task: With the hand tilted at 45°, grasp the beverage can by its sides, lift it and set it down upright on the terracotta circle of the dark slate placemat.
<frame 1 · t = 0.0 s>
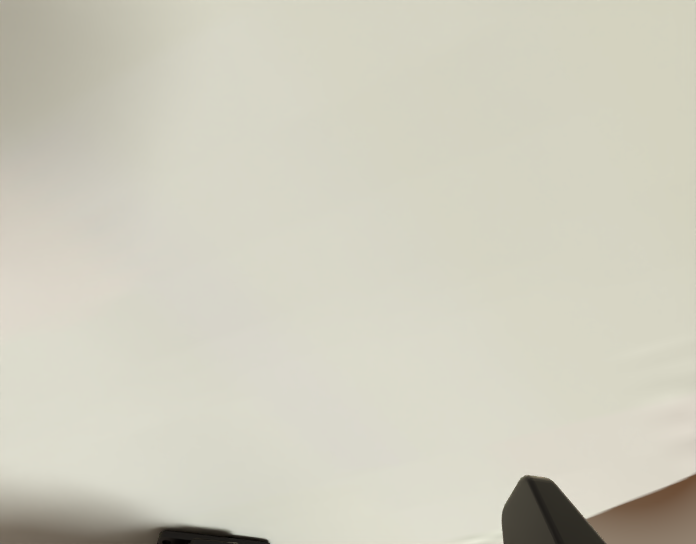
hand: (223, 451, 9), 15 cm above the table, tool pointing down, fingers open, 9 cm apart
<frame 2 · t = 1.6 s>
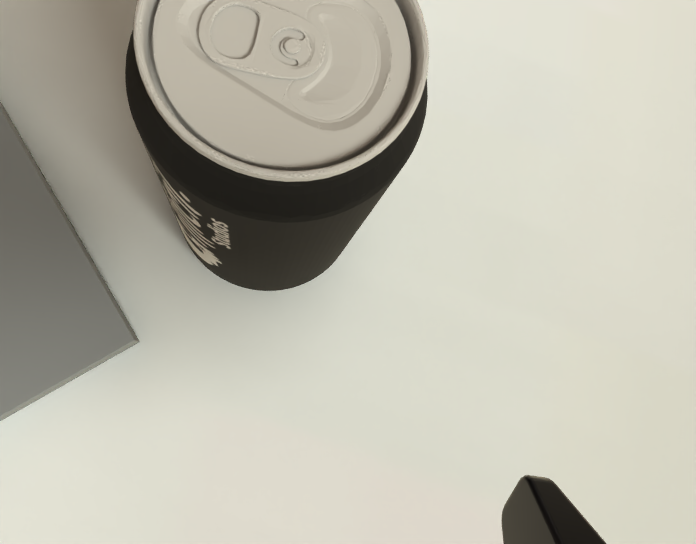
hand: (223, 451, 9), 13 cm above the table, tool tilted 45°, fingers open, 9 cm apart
beverage can: (267, 212, 23), on the table
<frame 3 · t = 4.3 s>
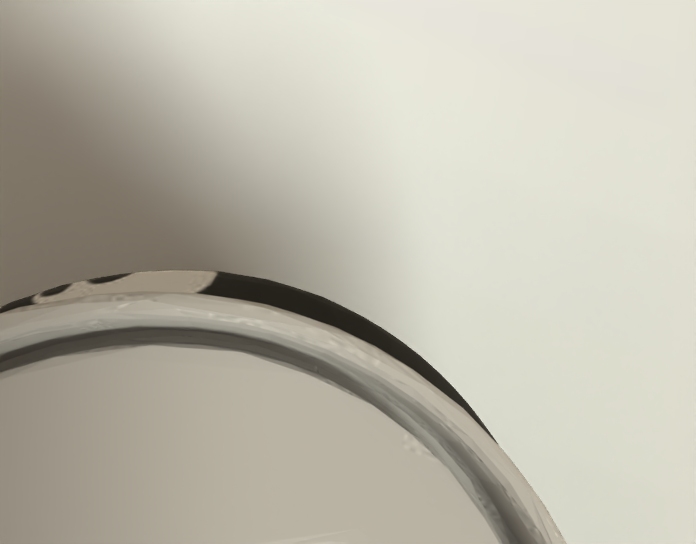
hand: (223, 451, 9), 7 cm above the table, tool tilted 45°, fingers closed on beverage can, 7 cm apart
beverage can: (222, 480, 15), on the table, touching gripper
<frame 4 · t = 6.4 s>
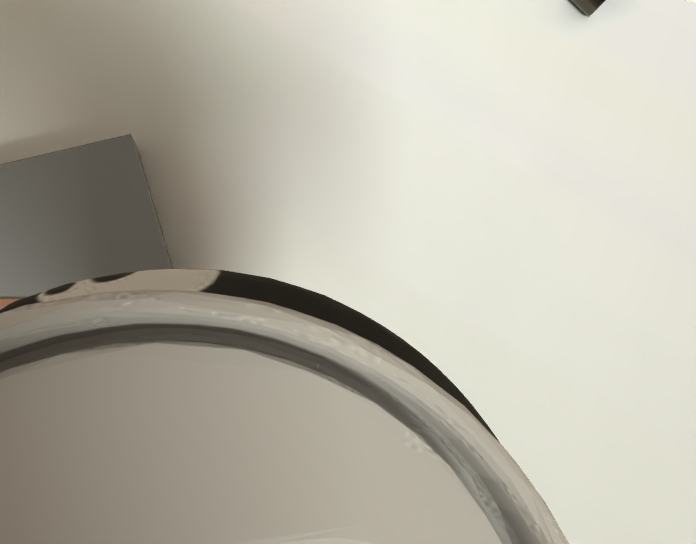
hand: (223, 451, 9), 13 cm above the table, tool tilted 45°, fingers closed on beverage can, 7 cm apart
placemat: (14, 435, 20), on the table
beverage can: (225, 478, 15), point 6 cm above the table, touching gripper
when the fingers open (9 cm above the table, at t = 8.5 s): beverage can stays where it is, resting on placemat.
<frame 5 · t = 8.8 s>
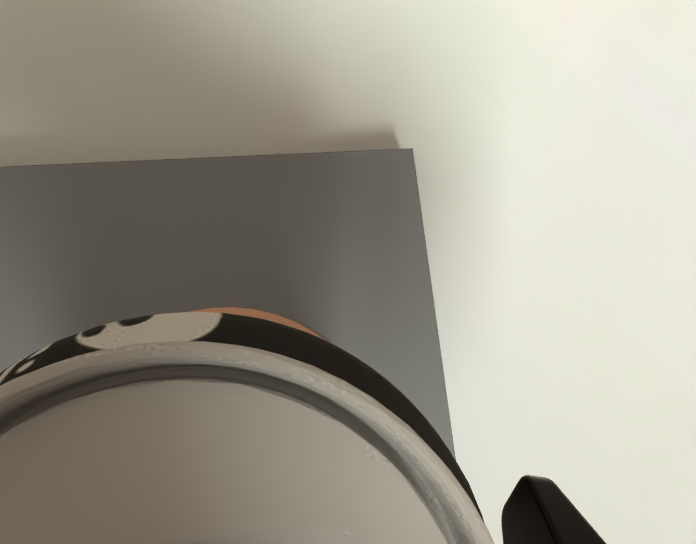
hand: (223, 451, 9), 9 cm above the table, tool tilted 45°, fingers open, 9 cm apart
placemat: (226, 468, 17), on the table
beverage can: (223, 481, 16), point 1 cm above the table, touching placemat
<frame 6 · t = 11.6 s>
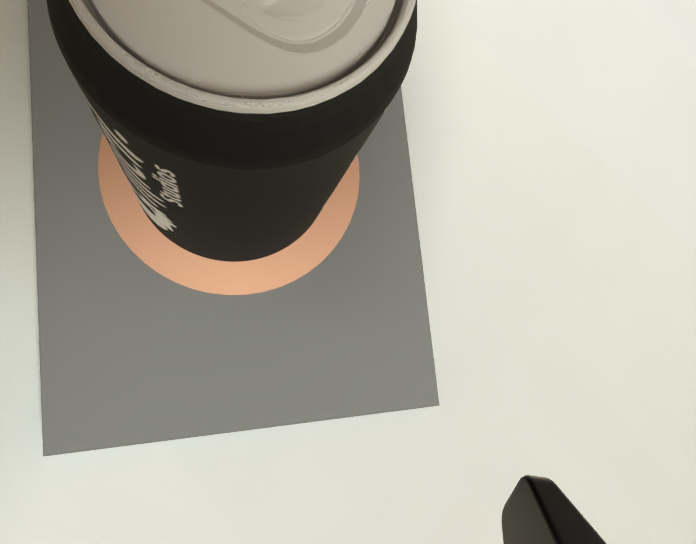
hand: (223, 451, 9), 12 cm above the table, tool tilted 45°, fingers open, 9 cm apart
placemat: (233, 176, 22), on the table
beverage can: (233, 175, 21), point 1 cm above the table, touching placemat
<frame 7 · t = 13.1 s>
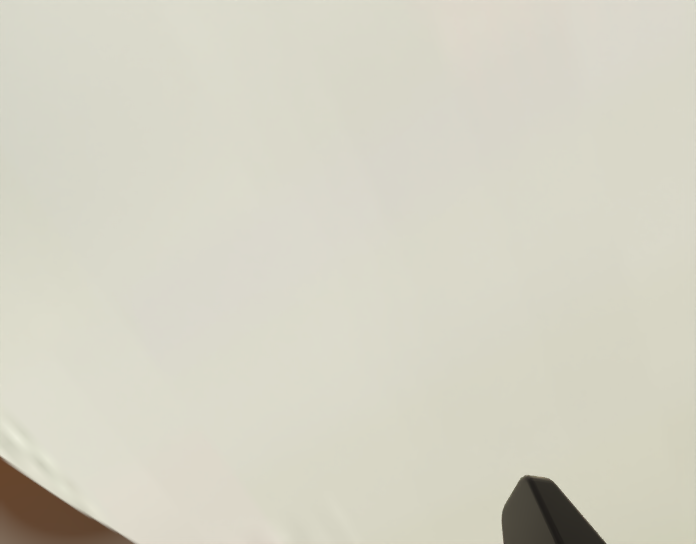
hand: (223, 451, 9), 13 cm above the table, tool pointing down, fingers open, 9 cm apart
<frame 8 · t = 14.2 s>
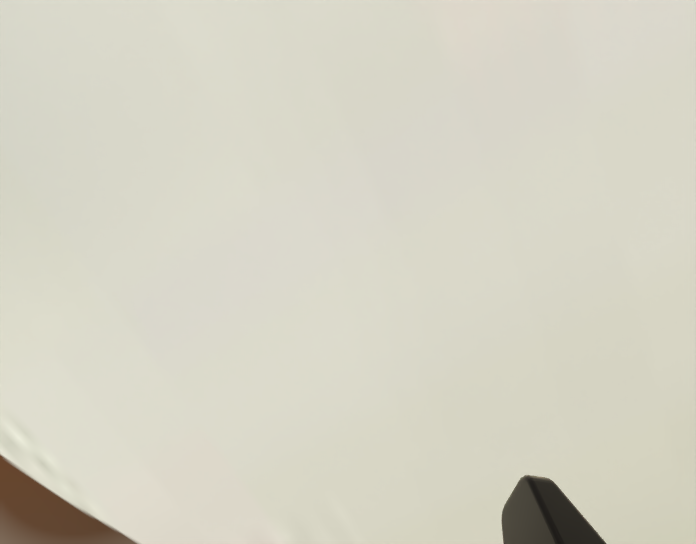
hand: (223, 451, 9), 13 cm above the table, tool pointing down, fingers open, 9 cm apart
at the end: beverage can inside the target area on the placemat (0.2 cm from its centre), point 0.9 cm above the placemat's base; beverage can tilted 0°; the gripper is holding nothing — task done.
